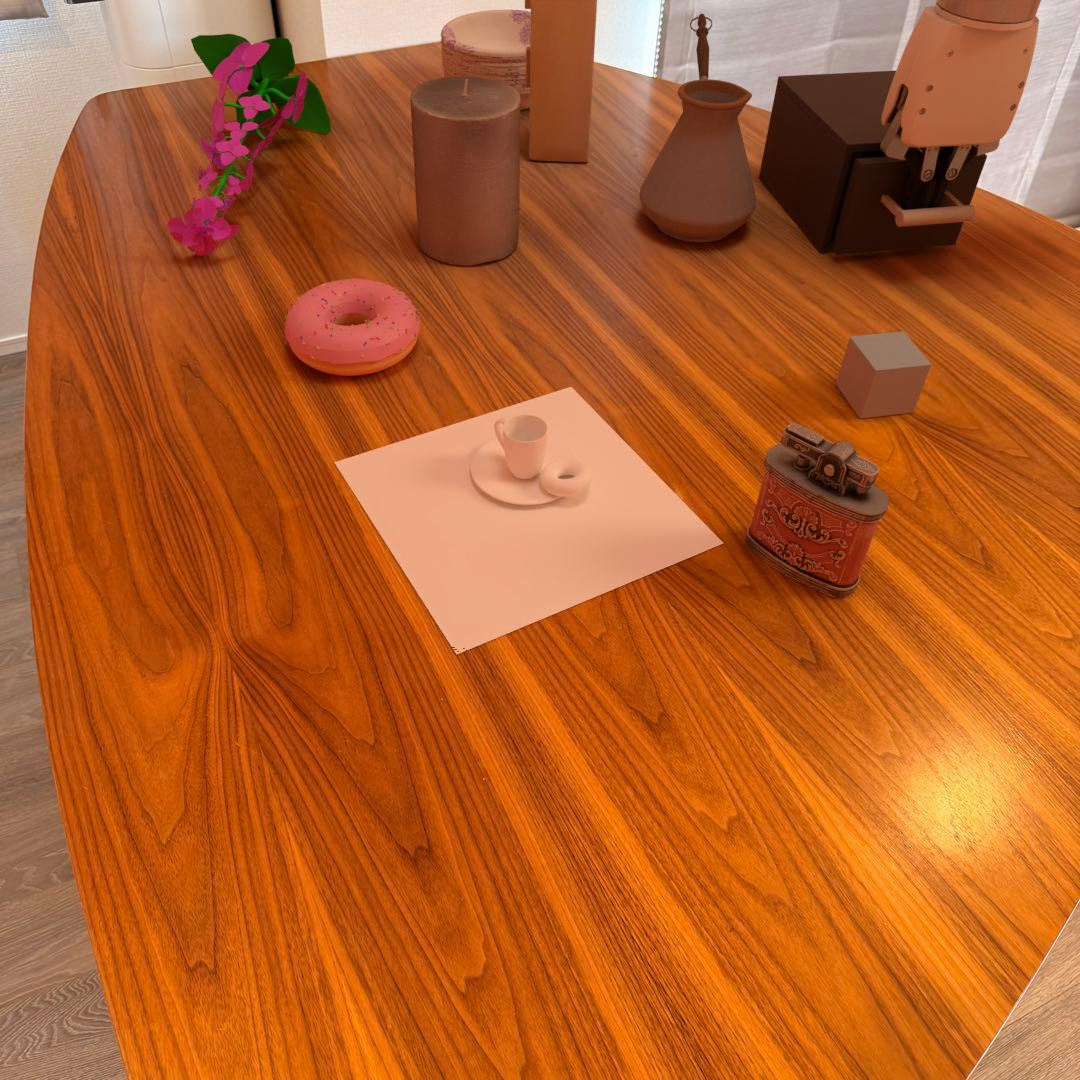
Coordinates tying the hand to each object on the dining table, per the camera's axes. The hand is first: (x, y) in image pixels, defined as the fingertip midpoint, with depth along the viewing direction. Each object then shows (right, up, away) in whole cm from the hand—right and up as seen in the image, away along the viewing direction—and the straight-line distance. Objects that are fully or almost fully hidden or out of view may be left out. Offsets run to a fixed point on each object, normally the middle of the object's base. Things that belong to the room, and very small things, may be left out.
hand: (916, 216), depth 89 cm
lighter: (-17, -31, -24) cm, 43 cm away
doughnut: (-50, -14, -8) cm, 52 cm away
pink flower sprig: (-64, +8, +13) cm, 66 cm away
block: (-8, -18, -11) cm, 23 cm away
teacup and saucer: (-36, -27, -21) cm, 49 cm away
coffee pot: (-19, +5, +12) cm, 23 cm away
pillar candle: (-41, -1, +5) cm, 42 cm away
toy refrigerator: (-33, +14, +21) cm, 41 cm away
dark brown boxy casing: (-2, +5, +12) cm, 13 cm away
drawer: (-1, +2, +8) cm, 8 cm away
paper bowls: (-39, +25, +31) cm, 55 cm away
